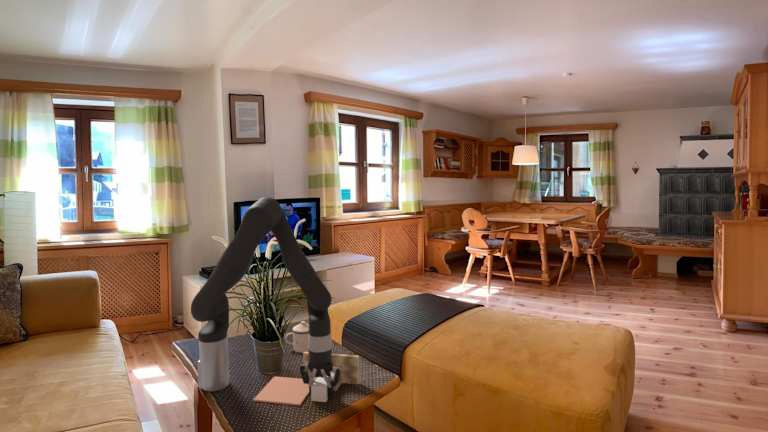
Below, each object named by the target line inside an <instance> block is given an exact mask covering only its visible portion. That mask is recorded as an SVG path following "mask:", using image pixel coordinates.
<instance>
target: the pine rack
mask: <svg viewBox="0 0 768 432" xmlns="http://www.w3.org/2000/svg"><path fill="white" fill-rule="evenodd" d="M302 357H303V359H302V360H303V361H302V362H303V363H305V364H308V363H309V352H304V353H302ZM303 363H302V364H303ZM332 363H333V365H334V366H336V367H339V366H341V367H342V369H341V373H340V377H339V382H338V383H337V385H336V386H333V392H334V391H335V393H336V391H337V392H338V391H339V388H340V387H341V385H342V384H346V383H347V384H348V385H357V384H358V386H359V385H360V355H353V354H344V353H343V354H339V353H332ZM331 371H332V372H334V371H333V370H331ZM307 372H308V376H309V379H310V378H311V375H312V373H311V371H310V370H309V368H308V370H307ZM316 378H317V377H316ZM316 378H315V380H316Z"/></svg>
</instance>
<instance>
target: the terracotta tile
mask: <svg viewBox="0 0 768 432" xmlns="http://www.w3.org/2000/svg"><path fill="white" fill-rule="evenodd" d="M309 395H310V394H309V385H308V384H304V383H303V379H302V378H296V377H285V376H276V375H275V376H273V377H272V378H271V379H270V380H269V381H268V383H267V384H266V385H265V386H264V387H263V388H262V389H261V390H260V392H259V393H257V395H256V396H255V397H254V398H253V399H252V400H253V402H258V403H259V402H260V403H265V404H266V403H267V404H268V403H269V404H278V405H286V406H287V405H288V406H295V407H301V406H302V404H303V403H304V401H305V400H306V398H307V397H308V396H309Z"/></svg>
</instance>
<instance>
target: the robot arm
mask: <svg viewBox="0 0 768 432" xmlns="http://www.w3.org/2000/svg"><path fill="white" fill-rule="evenodd" d="M242 217H243V218H242V220H241V222H240V225H239V227H238V229H237V232H236V234H235V236H234V237H233V239H231V241H230V242H229V244H228V245H227V247H226V248H225V250H224V251H223V252H222V254H221V256H220V258H219V259H218V261H217V263H216V265H215V266H214V269H213V270H212V271H211V274H210V275H209V277H208V278H207V279H206V282H205V283H204V284H203V285H202V287H201V288H200V289H199V291H198V292H197V293H196V295H195V296H194V297H193V299H192V301H191V304H190V313H191V316H192V318H193V319H194V320H195V321H197V322H199V323H200V322H201V323H204V322H206V324H205V325H203V326H202V327H201V329H200V330H199V331H198V334H197V337H198V338H197V339H198V351H199V352H198V353H199V359H198V360H197V361H196V364H197V365H196V366H197V381H198V382H197V383H198V384H197V385H198V389H202V391H205V392H217V391H221V390H224V389H225V388H227V387H228V386H229V385H230V369H229V368H230V364H229V344H228V330H229V327H230V304H229V303H230V302H229V299H228V296H227V294H226V293H228V291H229V290H231V289H232V288H234V286H236V285H237V284H238V283H240V281H241V280H242V279H243V278H244V277H245V275H246V273H247V272H248V270H250V267H251V265H252V263H253V261H254V258H255V253H256V250H257V247H258V246H259V245H260V244H261V242H262V241H263V240H264V239H265V237H266V236H267V235H268V234H269V233H270V232H271V233H272V234H273V236H274V237H275V239H276V242H277V244H278V247H279V250H280V254H281V258H282V261H283V264H284V266H285V268H286V270H287V272H288V273H289V275H290V276H291V278H292V279H293V281H294V282H295V284H296V285H297V286H298V287H299V289H301V292H302V293H303V295H304V296H305V299H306V304H307V305H306V306H307V313H308V324H309V338H308V349H309V363H308V364H305V363H302V364H301V365H300V366H299V372H300V375H301V379H303V383H304V384H308V385H309V394H308V395H310V396H311V386H312V384H313V383H314V381H315V378H316V377H322V378H324V380H325V382H326V383H327V386H328V387H327V397H328V399H330V398H331V397H332V396H333V394H334V389H333V386H336V385H337V383H338V382H339V377H340V373H341V369H342V367H341V366H339V367H336V366H334V365H333V363H332V354H333V341H332V340H333V338H332V331H331V330H332V329H331V327H332V325H331V318H330V315H329V308H330V306H331V304H332V300H333V299H332V295H331V293H330V291H329V289H328V288H327V287H326V285H325V284H324V283H323V282H322V280H321V278H319V276H318V274H317V272H316V270H315V268H314V267H313V265H312V264H311V262H310V260H309V259H308V258H307V256H306V254H305V252H304V251H303V249H302V248H301V246H300V244H299V242H298V240H297V238H296V236H295V234H294V232H293V230H292V229H293V228H291V225H290V223H289V221H288V219H287V216H286V214H285V212H284V210H283V208H282V205H281V204H280V203H279V201H277V199H275V198H272V197H268V196H267V197H266V196H265V197H260V198H259V199H258V200H257V201H255V202H254V203H253V204H251V206H249V207H248V209H246V211H245V213H244V215H243V216H242ZM308 368H309V370H310V371H311V373H312V375H311V378H310V379H309V376H308V372H307V370H308ZM331 370H333V371H334V374H335V377H334V381H333V380H332V376H331V373H330V372H331Z"/></svg>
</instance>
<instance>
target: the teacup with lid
mask: <svg viewBox="0 0 768 432" xmlns="http://www.w3.org/2000/svg"><path fill="white" fill-rule="evenodd" d="M288 336H292V341H289V340H288ZM308 338H309V323H306V321H305V320H302V321H300V323H299V324H296V325H294V326H293V327H292V331H291V332H288V333H286V335H285V337H284V339H285V343H287V344H288V345H291V346H292V345H293V346H292V347H293V351H294V352H296V353H299V354H301V353H302V354H303V353H304V352H309V349H308Z"/></svg>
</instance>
